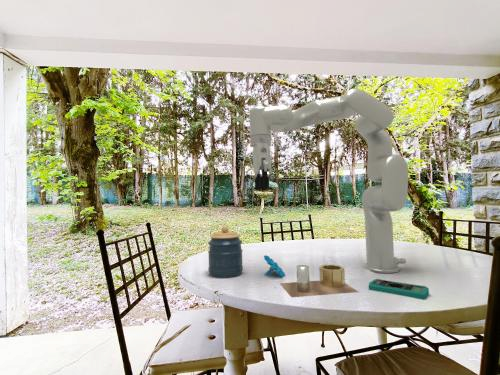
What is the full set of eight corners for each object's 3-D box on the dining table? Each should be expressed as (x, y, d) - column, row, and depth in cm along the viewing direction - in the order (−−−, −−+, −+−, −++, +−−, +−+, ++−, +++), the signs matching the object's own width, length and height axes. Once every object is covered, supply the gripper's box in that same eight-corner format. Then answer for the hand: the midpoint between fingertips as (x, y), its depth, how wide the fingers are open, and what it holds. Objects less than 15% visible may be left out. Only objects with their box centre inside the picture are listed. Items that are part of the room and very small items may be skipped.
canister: (248, 270, 109) (247, 225, 110) (232, 279, 97) (231, 228, 98) (219, 268, 115) (219, 224, 115) (201, 276, 103) (200, 227, 104)
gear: (285, 276, 94) (264, 254, 97) (272, 289, 94) (252, 266, 97) (288, 272, 105) (269, 252, 107) (277, 283, 105) (258, 263, 108)
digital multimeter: (374, 286, 88) (373, 277, 88) (430, 296, 79) (429, 285, 79) (366, 293, 82) (366, 282, 83) (425, 304, 73) (425, 292, 73)
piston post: (307, 288, 85) (306, 264, 85) (311, 292, 81) (310, 267, 81) (295, 289, 84) (294, 265, 84) (299, 293, 80) (298, 268, 81)
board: (338, 281, 93) (338, 279, 93) (359, 294, 80) (359, 291, 80) (279, 285, 90) (279, 283, 90) (291, 299, 77) (291, 297, 77)
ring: (337, 279, 93) (337, 264, 93) (348, 286, 86) (347, 269, 86) (317, 281, 92) (316, 265, 92) (326, 287, 85) (325, 271, 85)
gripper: (276, 136, 94) (277, 188, 93) (265, 146, 111) (266, 189, 110) (254, 136, 93) (255, 188, 92) (247, 146, 110) (248, 190, 109)
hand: (261, 189), depth 101 cm, fingers open, 9 cm apart
